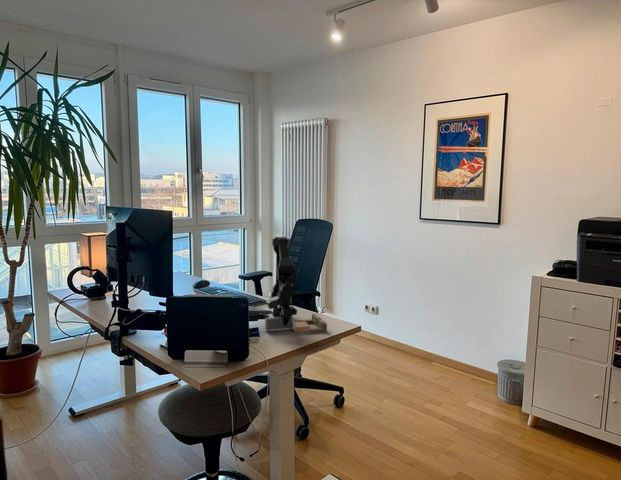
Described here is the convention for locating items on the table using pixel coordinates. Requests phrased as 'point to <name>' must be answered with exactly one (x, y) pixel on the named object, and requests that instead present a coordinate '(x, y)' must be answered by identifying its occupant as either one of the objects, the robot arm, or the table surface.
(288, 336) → the table surface
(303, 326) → the tile
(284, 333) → the table surface
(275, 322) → the scraper
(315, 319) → the tile rack
